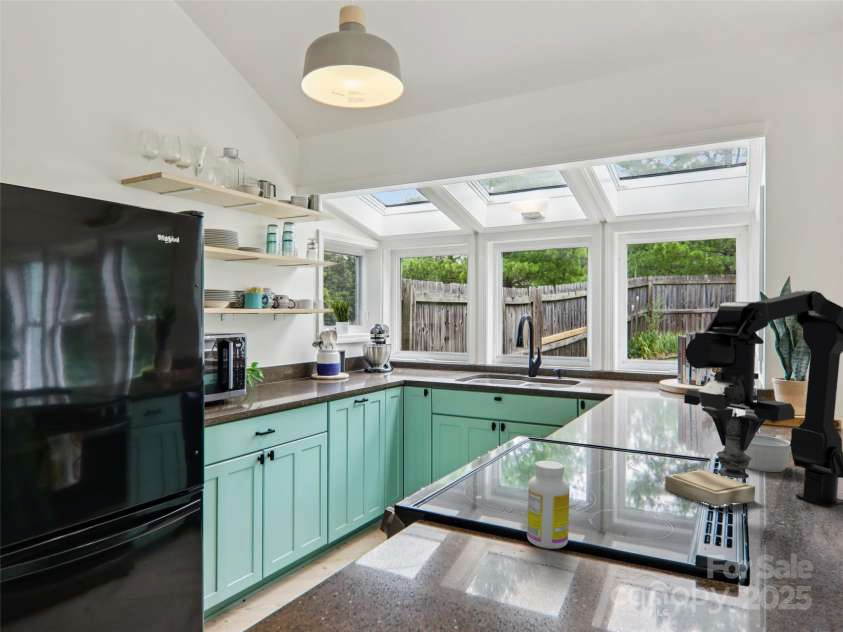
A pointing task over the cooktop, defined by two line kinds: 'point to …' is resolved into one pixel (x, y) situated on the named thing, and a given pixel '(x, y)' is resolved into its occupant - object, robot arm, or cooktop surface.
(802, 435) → the robot arm
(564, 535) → the supplement bottle
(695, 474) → the soap dish
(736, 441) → the salt shaker
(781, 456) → the ramekin
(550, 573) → the cooktop surface
